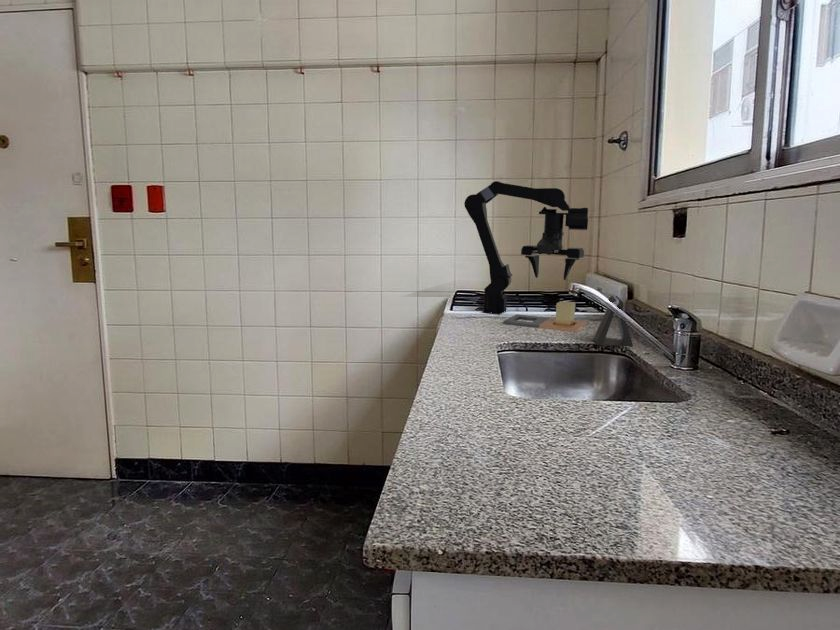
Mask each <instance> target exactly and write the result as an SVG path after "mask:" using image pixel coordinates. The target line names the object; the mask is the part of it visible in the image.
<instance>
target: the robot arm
mask: <svg viewBox="0 0 840 630" xmlns="http://www.w3.org/2000/svg"><path fill="white" fill-rule="evenodd" d="M498 195H504V196H507V197H513V198H515V197H516V198H521V199H526V200H530V201H531V200H532V201H535V202H537V203H540V204H543V205H546V206H548V207H550V208H547V207H546V206H543V208H542V209H541V210H540V211H538V214H539V215H544V224H543V225H544V228H543V232H542V237H541V238H540V240H538V242H537V243H536V244H535V245H533V244H529V245H528V244H527V245H523V246H522V247H521V249H520V255H521V256H524V258H526V259H528V260H529V262H530V264H531V266H532V270H533V273H534V276H535V278H538V277H539V272H540V271H539V270H540V269H539V268H540V255H549V256H550V255H553V256H554V255H558V256H567V258H566V257H565V258H564V260H565V261H564V263H565V264H564V269H563V270H564V271H563V272H564V273H563V281H566V280H567V278H568V275H569V273H570V271H571V269H572V268H573V266H574V264H575V262H576V261H578V260H580V259H581V258H584V257H585V251H584V248H582V247H569V248H567V249H563V247H564V246H563V237H564V225H565V227H568V230H569V231H570V230H571V231H572V230H573V231H574V230H576V231H588V225H589V218H588V216H589V215H588V214H589V213H588V212H589V207H580V208H579V207H577V208H576V207H570V204H568V203H567V201H566V194H565V193H564V191H563V189H560V188H556V187H555V188H554V187H551V188H550V187H546V188H545V187H543V188H541V187H540V188H537V187H536V188H535V187H531V186H530V187H528V186H522V185H517V184H510V183H505V182H502V181H498V180H497V181H496V180H495V181H493V182H491V183H490V184H489V185H488V186H486V187H485V188H483V189H482V190H480V191H478V192H477V193H476V194H475V193H474V194H470V195H468V196H467V197H466V198H465V200H464V202H463V203H464V208H465V210H466V212H467V213H468V216H469V217H470V218H471V220H472V221H473V223H474V224H475V226H476V231H477V233H478V236H479V240H480V241H481V245H482V247H483V250H484V253H485V256H486V259H487V262H488V266H489V267H488V268H489V277H490V283H489V284H488V285H487V286H486V287H485V288H484V297H483V310H482V311H483V312H482V313H485V312H492V313H491V314H495V313H501V314H503V313H505V312H507V311H508V310H507V301H508V300H507V298H506V293H504V292H505V290H506V289H508V287H509V286H510V285H511V282H512V277H513V274H512V272H511V270H510V264H509V263H507V264H504V263H503V261H502V259H501V256H500V253H499V250H498V248H497V245H496V242H495V238H494V235H493V232H492V230H491V227H490V224H489V221H488V210H487V209H488V208H487V204H488V203H489V202H491V201H492V200H493V199H495V198H496V197H497V196H498ZM554 208H555V209H554ZM557 208H558V209H559V210H561V211H563V212H558V210H557ZM564 211H566V212H564ZM564 217H565V218H564ZM564 219H565V223H564ZM506 310H507V311H506ZM504 311H505V312H504ZM502 312H503V313H502Z"/></svg>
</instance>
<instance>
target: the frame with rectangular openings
mask: <svg viewBox="0 0 840 630" xmlns="http://www.w3.org/2000/svg"><path fill="white" fill-rule="evenodd" d="M523 320H525V321H523ZM531 321H532V322H531ZM555 323H556V317H545V316H535V315H528V314H527V315H525V314H514V315H512V316H511V317H509V318H507V319H504V320H503V322H502V324H503V325H510V326H517V327H519V326H520V327H527V328H536V329H537V328H538V329H547V330H555V331H563V332H572V333H574V332H575V333H578V332H579V331H581V330H582V329H583V328H584V327H585V326H586V325H588V321H587V320H585V321H584V320H577V319H574V326H563V325H555Z"/></svg>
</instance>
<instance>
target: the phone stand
mask: <svg viewBox="0 0 840 630" xmlns="http://www.w3.org/2000/svg"><path fill="white" fill-rule="evenodd" d="M608 300H609V301H610V302H612V303H613V304H614V302H616V301H617V300H618V303H617V305H615V306H617V307H618V308H619V309H621V310H622V311H623V312H624V302H623V300H622V299H621V298H620V297H619V296H618V295H616V296H615V297H614V296H613V295H610V297H609V298H608V299H607V301H608ZM615 314H616V313H614V312H613V311H612V310H611V309H609V308H608V307H607V309H606V310H605V313H604V315H603V317H602V319H601V321H600V324H599V326H598V328H597V330H596V332H595V334H594V337H593V340H594V343H595V345H596V346H602V347H603V346H604V347H607V346H608V347H623V346H629V347H628V348H632V347H633V346H634V344H633V341H632V338H631V334H630V330H629V327H628V325H627V322H626V320H625V321H624V320H623V319H622V318H620V317H619V316H618V315H617V314H616V316H617V322H618V325H619V331H620V336H621V339H617V338H615V339H614V338H613V339H612V338H606V337H607V334H608V333H609V330H610V329H609V328H610V326H611V323H612V320H613V317H614V315H615Z"/></svg>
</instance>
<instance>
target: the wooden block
mask: <svg viewBox="0 0 840 630" xmlns="http://www.w3.org/2000/svg"><path fill="white" fill-rule="evenodd" d="M555 309H556V310H555V318H556V323H555V325H563V326H574V320H576V319H575V318H576V317H575V315H576V302H575V301H564V300H561V301H559V302H556V308H555Z"/></svg>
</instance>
